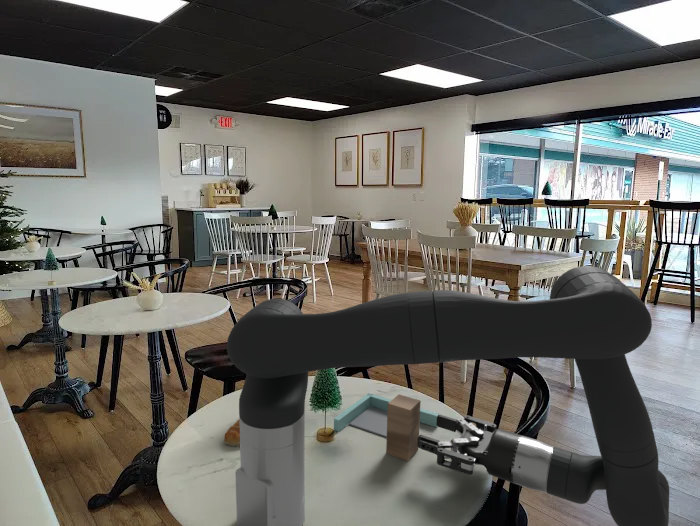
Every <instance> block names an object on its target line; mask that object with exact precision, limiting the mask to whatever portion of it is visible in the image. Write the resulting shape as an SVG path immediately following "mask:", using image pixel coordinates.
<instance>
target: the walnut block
mask: <svg viewBox="0 0 700 526" xmlns="http://www.w3.org/2000/svg"><path fill="white" fill-rule="evenodd" d="M421 401H422V400H420V399H416V398H413V397H409V396H406V395H403V394H397V395H396V396H395V397H394V398H393V399H391V401H390V402H389V403H388V413H387V438H386V445H385V447H386V449H385V450H386V451H385V452H386V453H385V454H388V455H390V456H391V457H396V458H398V459H401V460H404V461H407V462H409V461H410V459H411V458H412V457H413V456H414V455H415V454H416V453H417V452H418V450H419V448H418V446H417V439H418V437H419V435H420V423H421V422H420V408H421Z"/></svg>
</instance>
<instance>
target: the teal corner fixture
mask: <svg viewBox="0 0 700 526" xmlns="http://www.w3.org/2000/svg"><path fill="white" fill-rule="evenodd" d="M391 400H392V399H390V398H387V397H383V396H380V395H377V394H374V393H370V392H368V393H367V394H366V395H364V396H362V398H360V399H358V400H357V401H356V402H355V403H353V404H352V405H351V406H349V407H348V408H346V409H344V411H342V412H341V413H339V414H338V415H336V416H335V417H334V418H333V431H335V432H340V431H342V430H343V429H344V428H346V427H347V426H348V425H349V426H352V427H355V428H358V429H361V430H363V431H365V432H369V433H373V434H375V435H378V436H381V437H383V438H386V439H387V413H388V403H389V402H390V401H391ZM438 415H440V413H438V412H434V411H431V410H429V409H424V408H421V407H420V423H422V424H423V425H428V426H431V427H435V428H437V427H438V426H437V425H436V423H437V416H438Z"/></svg>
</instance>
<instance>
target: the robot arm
mask: <svg viewBox="0 0 700 526" xmlns="http://www.w3.org/2000/svg"><path fill="white" fill-rule="evenodd" d="M652 323H653V321H652V317H651V313H650V310H649V309H648V308H647V306H646V304H645V303H644V302H643V300H641V298H639V296H638V295H637V294H636V293H635V292H634V291H633V290H631V289H630V288H629V287H628V286H627V285H626V284H625V283H624V282H622V281H621V280H620V279H619V278H618V277H616V276H615V275H613V274H612V273H610V272H608V271H607V270H605V269H603V268H600V267H596V266H591V265H583V266H582V265H581V266H577V267H573V268H571V269H569V270H567V271H565V272H564V273H562V274H561V275H560V276H559V277H558V278H557V279H556V281H555V282H554V284H553V286H552V288H551V290H550V295H549V299H541V300H527V301H523V300H517V301H516V300H508V299H502V298H496V297H492V296H486V295H481V294H478V293H477V294H476V293H470V292H465V291H459V290H451V289H449V290H448V289H447V290H446V289H440V290H439V289H437V290H425V291H415V292H414V291H413V292H403V293H398V294H392V295H386V296H382V297H379V298H376V299H372V300H368V301H366V302H363V303H362V302H361V303H359V304H356V305H353V306H349V307H347V308H343V309H339V310H335V311H330V312H323V313H322V312H321V313H306V314H305V313H303V311H302V310H301V308H299V307H298V306H297V305H296V304H295V303H294V302H292V301H289V300H287V299H283V298H270V299H267V300H264V301H261V302H260V303H258V304H256V306H254V307H253V308H251V309H250V310H249V311H248V312H246V313H245V314H244V315H242V316H241V317H240V319H239V320H237V322H236V323H235V324H234V326H233V327H232V328H231V330H230V332H229V335H228V338H227V342H226V353H227V355H228V358H229V360H230V362H231V363H232V364H233V365H234V367H236V368H237V369H238V370H240V371H241V372H242V373H244V374H246V375H245V379H244V383H243V387H242V390H241V391H240V394H239V399H238V413H239V414H238V415H239V417H238V420H239V423H240V446H239V453H240V454H239V455H240V457H239V459H240V467H238V468H237V469H236V470H235V474H234V475H235V499H236V500H235V504H236V526H303V525H304V523H305V519H306V518H305V517H306V516H305V515H306V513H305V511H306V510H305V509H306V508H305V505H306V502H305V501H306V499H305V497H306V496H305V495H306V494H305V493H306V492H305V491H306V490H305V489H306V487H305V486H306V485H305V483H306V481H305V479H306V478H305V468H306V467H305V464H306V462H305V461H306V459H305V454H306V453H305V450H306V448H305V447H306V446H305V445H306V443H305V442H306V441H305V440H306V439H305V438H306V437H305V435H306V434H305V433H306V432H305V428H306V427H305V426H306V425H305V418H306V417H305V415H306V414H305V411H306V410H305V407H306V406H305V403H306V397H307V396H306V395H307V391H308V385H309V384H308V383H309V373H310V372H315V371H320V370H328V369H337V368H357V367H358V368H361V367H362V368H363V367H378V366H379V367H380V366H381V367H382V366H394V365H395V366H396V365H397V366H399V365H400V366H401V365H424V364H426V365H427V364H438V363H441V364H442V363H449V362H451V363H452V362H458V361H478V360H497V359H498V360H499V359H514V358H544V359H570V360H571V359H573V360H574V362H575V364H576V367H577V370H578V373H579V376H580V380H581V383H582V387H583V392H584V394H585V398H586V399H585V400H586V402H587V406H588V407H587V408H588V410H589V414H590V419H591V422H592V423H591V424H592V427H593V430H594V431H593V432H594V435H595V438H596V442H597V446H598V449H599V453H600V455H588V454H587V455H586V454H579V453H576V452H572V451H570V450H568V449H562V448H559V447H556V446H553V445H550V444H548V443H546V442H543V441H542V440H538V439H535V438H531V437H529V436H525V435H521V434H518V433H514V432H511V431H508V430H505V429H501V428H497V424H495V423H493V422H489V421H487V420H483V419H480V418H478V417H474V416H471V415H465V416H464V417H463V418H457V419H456V418H453V417H451V416H450V417H449V416H446V415H443V414H439V415H438V416H437V423H436V425H437V427H438V428H440V429H444V430H446V431H450V432H453V433H456V432H457V434H459V435H460V437H458V438H452V439H451V440H450V441H440V440H439V439H435V438H433V437H431V436H430V437H429V436H426V435H423V434H419V437H418V439H417V446H418V449H421V450H423V451H426V452H428V453H431V454H433V455H436V464H437V465H438V466H441V467H444V468H446V469H449V470H452V471H456V472H459V473H461V474H462V473H463V474H466V475H469V476H473V474H474V469H475V468H474V467H475V466H476V465H477V466H478V465H479V466H483V467H484V468H486V473H487V474H488V475H489V476H492V477H493V478H498V479H501V480H504V481H506V482H509V483H512V484H514V485H518V486H520V487H522V488H526V489H529V490H533V491H537V492H542V493H546V494H547V495H552V496H554V497H556V498H559V499H563V500H566V501H568V502H571V503H574V504H579V505H585V504H587V503H588V502H589V500H590V499H591V497H592V495H593V494H594V492H596V491H605V495H606V502H607V508H608V510H609V514H610V516H611V518H612V520H613V521H614V523H615V524H616V526H669V522H670V520H669V519H670V517H669V516H670V514H669V512H670V484H669V480H668V479H667V477H666V476H665V474H664V473H663V472H661V470H660V469H659V451H658V447H657V442H656V438H655V433H654V430H653V429H654V428H653V424H652V422H651V417H650V415H649V411H648V409H647V407H646V404H645V402H644V399H643V397H642V395H641V392H640V391H639V390H640V389H639V388H638V385H637V383H636V381H635V379H634V376H633V373H632V372H631V368H630V365H629V363H628V360H627V357H626V355H627V354H630V353H632V352H633V351H636V349H638V348H640V346H641V345H643V344H644V343H645V341H646V340H647V339H648V337H649V335H650V334H651V331H652V326H653V324H652ZM474 424H475V425H474ZM449 449H450V450H449ZM446 459H450V461H449V460H446Z"/></svg>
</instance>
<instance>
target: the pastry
mask: <svg viewBox="0 0 700 526" xmlns="http://www.w3.org/2000/svg"><path fill="white" fill-rule="evenodd" d="M223 442H224V444H227V445H228V446H233V447H240V423H239V419H238V420H237V421H236V422H235V423H234V424H233V425H231V426H230V427H229V428H228V429H227V431H225V433H224V440H223Z"/></svg>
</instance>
